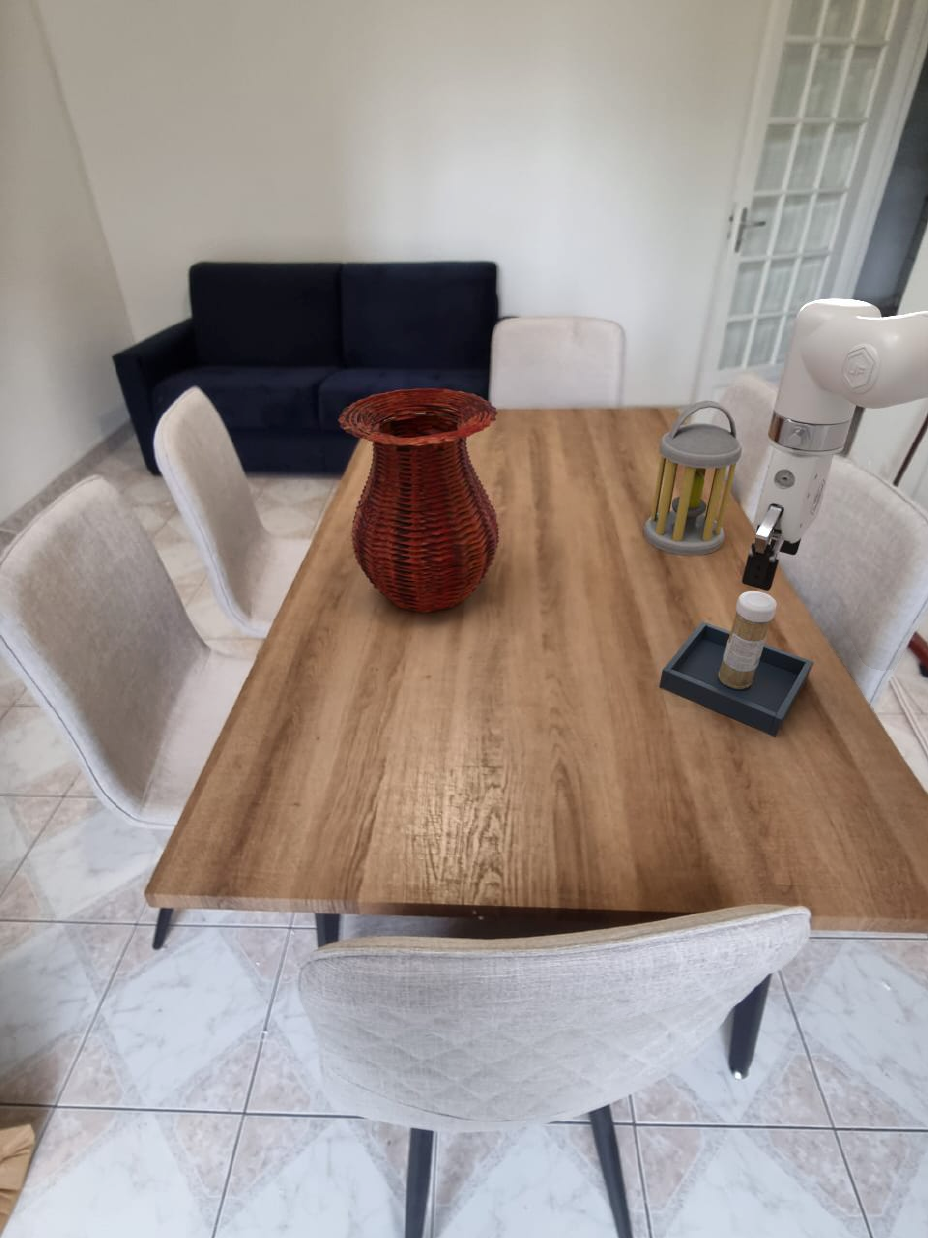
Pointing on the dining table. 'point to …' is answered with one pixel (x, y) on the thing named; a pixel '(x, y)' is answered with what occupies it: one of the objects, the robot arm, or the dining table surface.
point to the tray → (753, 706)
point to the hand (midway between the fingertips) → (769, 568)
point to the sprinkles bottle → (746, 639)
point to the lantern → (693, 485)
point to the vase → (422, 497)
